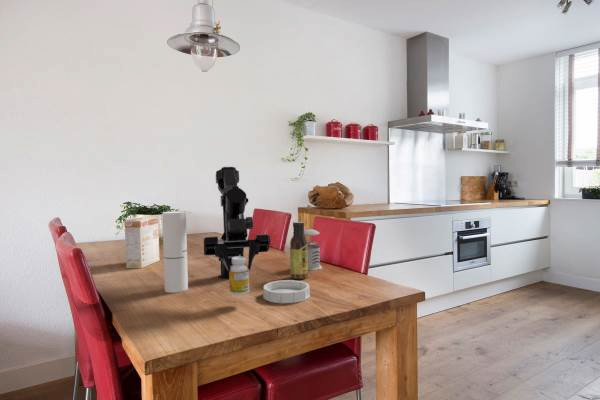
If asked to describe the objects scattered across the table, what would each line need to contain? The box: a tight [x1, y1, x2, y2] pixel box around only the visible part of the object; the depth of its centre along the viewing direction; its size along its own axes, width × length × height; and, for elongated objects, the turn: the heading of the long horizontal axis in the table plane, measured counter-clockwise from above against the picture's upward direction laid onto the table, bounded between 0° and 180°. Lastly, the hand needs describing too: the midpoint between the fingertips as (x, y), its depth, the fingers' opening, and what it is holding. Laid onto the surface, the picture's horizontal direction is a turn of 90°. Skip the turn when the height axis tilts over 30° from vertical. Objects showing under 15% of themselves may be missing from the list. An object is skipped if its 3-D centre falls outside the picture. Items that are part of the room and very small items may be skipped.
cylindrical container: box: [162, 210, 189, 294], centre depth 124 cm, size 7×7×25 cm
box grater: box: [304, 204, 323, 271], centre depth 152 cm, size 10×12×25 cm
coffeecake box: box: [124, 216, 160, 269], centre depth 162 cm, size 15×7×20 cm, turn 172°
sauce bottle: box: [289, 221, 309, 280], centre depth 137 cm, size 7×6×20 cm
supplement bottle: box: [228, 255, 250, 296], centre depth 107 cm, size 5×5×10 cm
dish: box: [262, 279, 311, 304], centre depth 116 cm, size 14×14×3 cm
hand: (239, 269), depth 106 cm, fingers closed on supplement bottle, 5 cm apart
